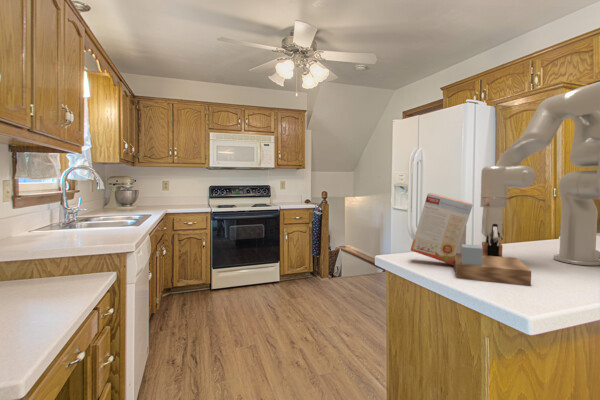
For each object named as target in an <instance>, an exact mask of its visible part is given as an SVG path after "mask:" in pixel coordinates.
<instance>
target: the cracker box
mask: <svg viewBox="0 0 600 400" xmlns="http://www.w3.org/2000/svg"><path fill="white" fill-rule="evenodd" d="M424 201H425V202H424V204H423V208H422V211H421V214H420V217H419V221H418V224H417V227H416V231H415V234H414V237H413V240H412V244H411V247H410V251H411V252H415V253H416V254H420V255H422V256H425V257H428V258H431V259H435V260H437V261H440V262H443V263H446V264H448V265H451V266H452V265H453V263H454V255H456V254H457V251H458V248H459V245H460V242H461V239H462V236H463V233H464V230H465V227H466V228H467V223H468V221H469V217H470V214H471V211H472V208H473V205H474V204H472V203H471V202H467V201H463V200H459V199H456V198H452V197H448V196H444V195H441V194H436V193H433V192H427V195H426V199H425V200H424ZM453 266H454V265H453Z"/></svg>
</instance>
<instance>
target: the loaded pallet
mask: <svg viewBox="0 0 600 400" xmlns="http://www.w3.org/2000/svg"><path fill="white" fill-rule="evenodd" d="M488 246H489V242H486V241H482V242H481V247H482V249H483V250H482V255H486V256H487V252H488ZM499 257H503V244H502V243H501V242H499Z"/></svg>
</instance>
